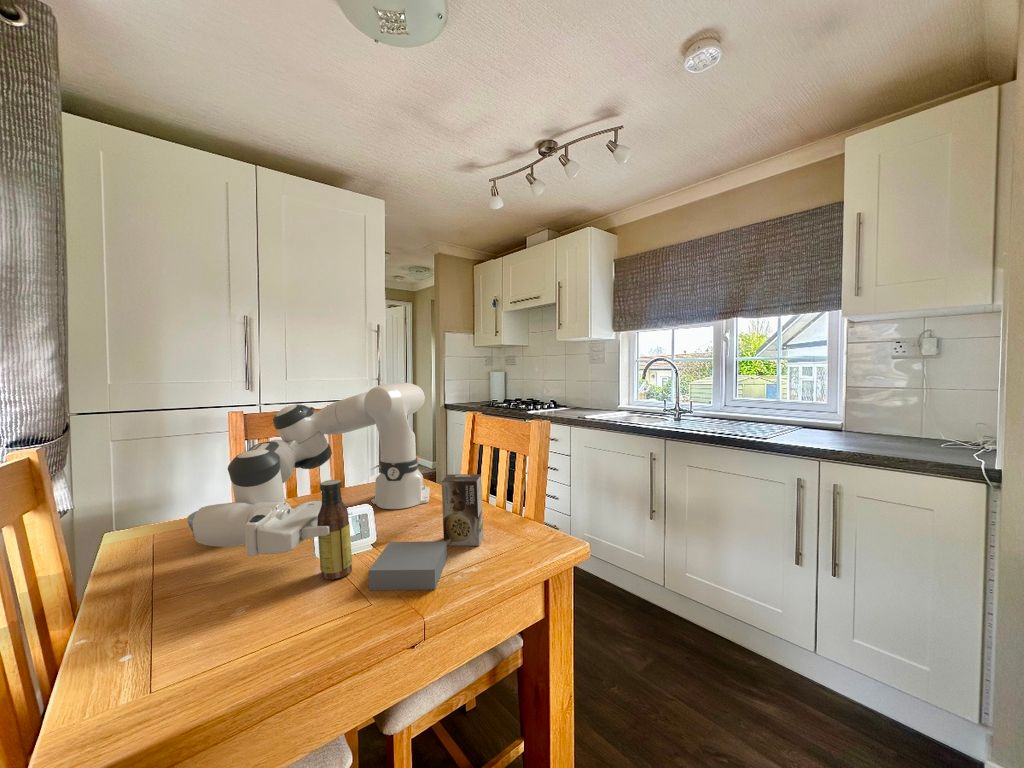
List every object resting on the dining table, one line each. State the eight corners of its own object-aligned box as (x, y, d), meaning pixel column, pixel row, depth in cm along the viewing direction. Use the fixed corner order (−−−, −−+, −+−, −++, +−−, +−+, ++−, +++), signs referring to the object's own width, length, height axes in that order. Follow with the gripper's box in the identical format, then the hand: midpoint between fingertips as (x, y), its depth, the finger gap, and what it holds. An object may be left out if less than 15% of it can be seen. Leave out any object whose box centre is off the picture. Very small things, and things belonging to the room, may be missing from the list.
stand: (390, 559, 92) (389, 541, 92) (447, 558, 91) (446, 541, 91) (369, 590, 79) (368, 570, 79) (435, 589, 78) (434, 569, 78)
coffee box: (483, 535, 104) (482, 473, 103) (479, 546, 97) (477, 480, 97) (449, 535, 105) (447, 473, 104) (442, 545, 98) (440, 480, 98)
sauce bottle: (345, 563, 90) (342, 475, 89) (357, 573, 85) (354, 480, 85) (314, 574, 85) (311, 481, 85) (325, 585, 81) (322, 487, 80)
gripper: (300, 520, 96) (358, 519, 95) (241, 560, 75) (314, 560, 75) (299, 493, 95) (357, 492, 95) (239, 527, 75) (313, 526, 75)
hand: (338, 522), depth 85 cm, fingers closed on sauce bottle, 6 cm apart
